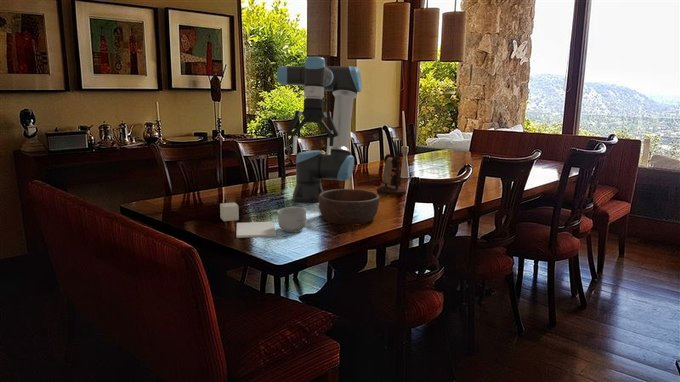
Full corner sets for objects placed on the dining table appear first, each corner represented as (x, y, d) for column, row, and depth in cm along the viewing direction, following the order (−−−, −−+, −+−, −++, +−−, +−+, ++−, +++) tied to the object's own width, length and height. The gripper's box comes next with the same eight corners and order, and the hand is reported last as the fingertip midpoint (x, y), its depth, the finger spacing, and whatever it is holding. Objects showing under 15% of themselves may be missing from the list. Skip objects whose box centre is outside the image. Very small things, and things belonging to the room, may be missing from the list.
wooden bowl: (332, 230, 196) (332, 203, 194) (309, 214, 218) (309, 190, 216) (389, 224, 206) (390, 199, 204) (362, 209, 228) (363, 187, 226)
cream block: (235, 216, 213) (234, 202, 212) (238, 220, 208) (238, 205, 207) (220, 217, 210) (220, 203, 209) (223, 221, 205) (223, 206, 204)
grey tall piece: (370, 192, 263) (372, 153, 259) (394, 190, 270) (396, 152, 266) (387, 198, 250) (389, 157, 246) (411, 195, 257) (413, 156, 253)
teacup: (301, 235, 189) (301, 214, 187) (273, 233, 191) (273, 212, 189) (311, 225, 202) (311, 205, 200) (284, 223, 204) (284, 203, 202)
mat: (273, 223, 203) (273, 221, 203) (275, 236, 187) (275, 234, 187) (236, 224, 201) (236, 222, 200) (236, 237, 184) (236, 235, 184)
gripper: (279, 96, 196) (277, 152, 198) (343, 98, 191) (340, 155, 193) (285, 98, 204) (283, 152, 206) (347, 100, 198) (345, 155, 200)
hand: (311, 154), depth 199 cm, fingers open, 13 cm apart
